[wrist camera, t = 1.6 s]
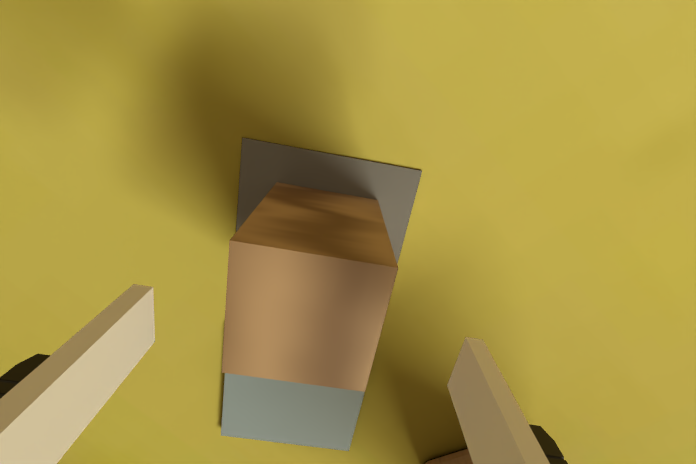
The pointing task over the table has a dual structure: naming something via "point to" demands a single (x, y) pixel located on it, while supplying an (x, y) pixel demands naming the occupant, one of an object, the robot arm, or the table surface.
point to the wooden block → (453, 458)
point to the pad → (289, 412)
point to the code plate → (327, 181)
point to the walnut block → (308, 288)
